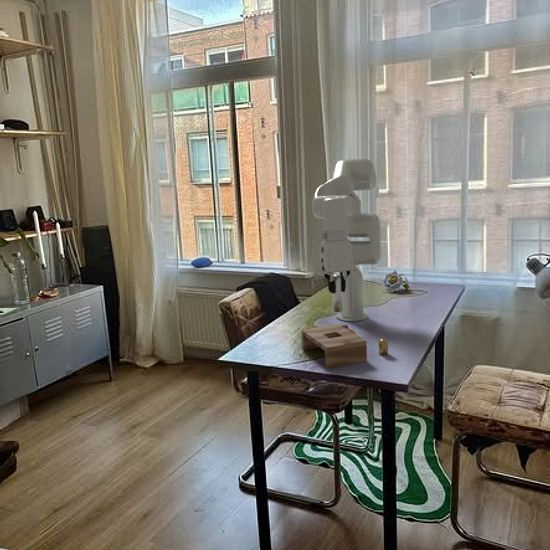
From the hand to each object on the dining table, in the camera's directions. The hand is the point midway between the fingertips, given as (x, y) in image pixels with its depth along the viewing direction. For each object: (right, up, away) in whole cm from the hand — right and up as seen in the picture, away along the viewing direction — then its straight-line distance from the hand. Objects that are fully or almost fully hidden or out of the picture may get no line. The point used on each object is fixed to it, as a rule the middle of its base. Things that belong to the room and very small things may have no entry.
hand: (337, 291), depth 174 cm
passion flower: (+38, -3, +83) cm, 92 cm away
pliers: (+6, -17, +25) cm, 31 cm away
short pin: (+16, -21, +2) cm, 26 cm away
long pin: (0, -7, +1) cm, 7 cm away
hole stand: (-1, -21, +4) cm, 22 cm away
